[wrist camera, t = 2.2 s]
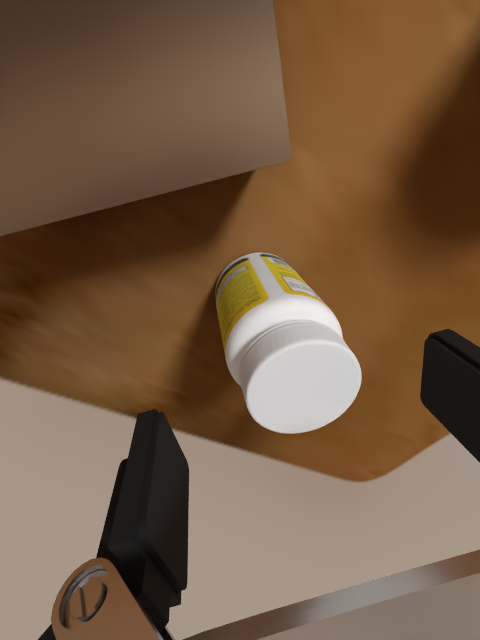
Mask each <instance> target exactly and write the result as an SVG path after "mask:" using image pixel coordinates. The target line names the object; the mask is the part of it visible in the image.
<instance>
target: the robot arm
mask: <svg viewBox="0 0 480 640" xmlns="http://www.w3.org/2000/svg"><path fill="white" fill-rule="evenodd" d="M420 398H421V401H422V403H423V404H424V406H425V407H426V408H427V409H428V410H429V411H430V412H431V413H432V414H433V415H434V416H435V417H436V418H437V419H438V420H439V421H440V422H441V423H442V424H443V425H444V426H445V427H446V428H447V430H448V431H449V432H450V433H451V434H452V435H453V436H454V437H455V438H456V439H458V441H459V442H460V443H461V444H462V445H463V446H464V447H465V448H466V449H467V450H468V451H469V452H470V453H471V454H472V455H473V456H474V457H475V458H476V459H477V460H478V461H479V462H480V347H478V346H476V345H475V344H473V343H472V342H470V341H468V340H467V339H465V338H464V337H462V336H460V335H459V334H457V333H456V332H454V331H452V330H450V329H445V330H442V331H438V332H434V333H431V334H430V335H429V336H428V339H426V340H425V345H424V357H423V369H422V381H421V393H420ZM188 500H189V467H188V463H187V460H186V458H185V456H184V454H183V452H182V450H181V448H180V446H179V444H178V442H177V439H176V437H175V435H174V433H173V431H172V429H171V427H170V425H169V423H168V421H167V419H166V417H165V415H164V413H163V412H159V413H158V411H157V410H156V409H154V410H150V411H147V412H143V413H139V414H138V416H137V420H136V425H135V429H134V433H133V438H132V442H131V447H130V451H129V456H128V458H127V459H124V460H123V461H122V462H121V463H120V466H119V469H118V473H117V477H116V481H115V485H114V489H113V493H112V497H111V501H110V505H109V509H108V513H107V517H106V521H105V525H104V529H103V533H102V537H101V541H100V545H99V549H98V553H97V557H96V559H91V560H89V561H88V562H86V563H84V564H82V565H81V566H80V567H79V568H77V569H76V570H75V571H74V572H73V573H72V574H71V575H70V577H69V578H68V579H67V580H66V581H65V583H64V585H63V586H62V588H61V590H60V591H59V593H58V595H57V598H56V600H55V603H54V606H53V610H52V617H51V621H52V624H51V625H50V626H49V628H47V630H46V631H45V632H44V633H43V634H42V635H41V637H40V638H39V639H38V640H175V639H174V637H173V636H172V634H171V633H170V631H169V630H168V628H167V627H166V625H167V623H168V621H169V608H170V607H173V606H177V605H180V604H181V591H182V590H185V589H186V587H187V563H188ZM183 640H480V550H477V551H474V552H470V553H467V554H463V555H460V556H456V557H452V558H449V559H446V560H443V561H439V562H435V563H432V564H428V565H425V566H421V567H418V568H414V569H411V570H407V571H404V572H401V573H397V574H394V575H390V576H387V577H383V578H380V579H376V580H373V581H370V582H366V583H363V584H359V585H356V586H352V587H349V588H346V589H342V590H339V591H335V592H332V593H329V594H325V595H322V596H319V597H315V598H312V599H308V600H305V601H301V602H298V603H295V604H291V605H288V606H284V607H281V608H278V609H274V610H271V611H268V612H264V613H261V614H258V615H255V616H252V617H249V618H245V619H242V620H239V621H236V622H233V623H229V624H226V625H223V626H220V627H217V628H214V629H211V630H207V631H204V632H202V633H199V634H196V635H194V636H191V637H189V638H186V639H183Z"/></svg>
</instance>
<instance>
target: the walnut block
mask: <svg viewBox="0 0 480 640" xmlns="http://www.w3.org/2000/svg"><path fill="white" fill-rule="evenodd" d="M291 160H292V155H291V146H290V138H289V129H288V121H287V113H286V104H285V96H284V87H283V79H282V70H281V62H280V54H279V45H278V37H277V28H276V20H275V11H274V3H273V0H0V236H3V235H7V234H11V233H14V232H18V231H22V230H26V229H30V228H34V227H37V226H41V225H45V224H49V223H53V222H57V221H60V220H64V219H68V218H72V217H76V216H80V215H83V214H87V213H91V212H95V211H99V210H103V209H106V208H110V207H114V206H118V205H122V204H126V203H129V202H133V201H137V200H141V199H145V198H149V197H152V196H156V195H160V194H164V193H168V192H172V191H176V190H179V189H183V188H187V187H191V186H195V185H199V184H202V183H206V182H210V181H214V180H218V179H222V178H225V177H229V176H233V175H237V174H241V173H245V172H248V171H252V170H256V169H260V168H264V167H268V166H271V165H275V164H279V163H283V162H287V161H291Z"/></svg>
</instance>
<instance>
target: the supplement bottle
mask: <svg viewBox="0 0 480 640" xmlns="http://www.w3.org/2000/svg"><path fill="white" fill-rule="evenodd" d="M215 302H216V308H217V314H218V319H219V325H220V330H221V336H222V342H223V347H224V353H225V359H226V363H227V367H228V369H229V372H230V373H231V375H232V377H233V379H234V380H235V381H236V382H237V383H238V384H239V385H240V386H241V388H242V392H243V395H244V399H245V403H246V406H247V409H248V411H249V413H250V414H251V416H252V417H253V419H254V420H255V421H256V422H257V423H259V424H260V425H261V426H263V427H265V428H267V429H269V430H272V431H275V432H279V433H291V434H293V433H302V432H308V431H311V430H314V429H317V428H320V427H322V426H324V425H326V424H328V423H330V422H332V421H333V420H335V419H336V418H337V417H339V416H340V415H341V414H342V413H343V412H345V411H346V410H347V408H348V407H349V406H350V405H351V404H352V402H353V401H354V399H355V397H356V395H357V394H358V391H359V388H360V385H361V369H360V365H359V363H358V361H357V359H356V357H355V355H354V354H353V353H352V351H351V350H350V349H349V347H348V346H347V345H346V343H345V342H344V340H343V337H342V331H341V327H340V325H339V322H338V320H337V318H336V317H335V315H334V314H333V312H332V311H331V310H330V309H329V307H328V306H327V305H326V304H325V303H324V302H323V301H322V300H321V299H320V298H319V297H318V296H317V295H316V294H315V292H314V291H313V290H312V289H311V288H310V287H309V286H308V285H307V284H306V283H305V282H304V280H303V279H302V278H301V277H300V276H299V275H298V274H297V273H296V272H295V271H294V270H293V268H292V267H291V266H290V265H289V264H288V263H287V262H285V261H284V260H283V259H281V258H280V257H278V256H275V255H273V254H269V253H251V254H247V255H245V256H242V257H240V258H238V259H236V260H234V261H233V262H231V263H230V264H229V265H228V266H227V267H226V268H225V269H224V270H223V272H222V273H221V275H220V277H219V279H218V281H217V284H216V289H215Z"/></svg>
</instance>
